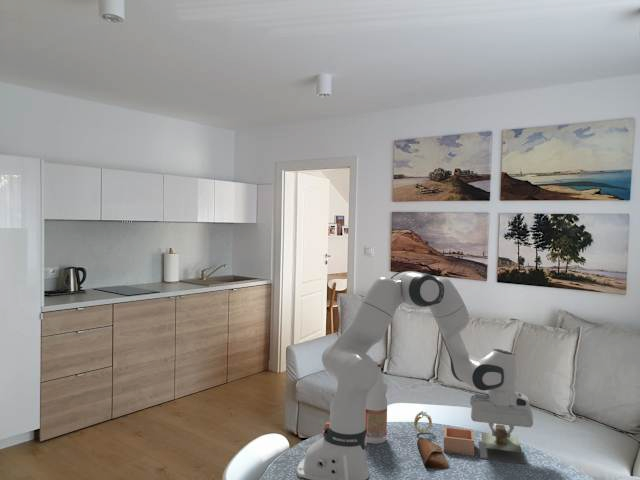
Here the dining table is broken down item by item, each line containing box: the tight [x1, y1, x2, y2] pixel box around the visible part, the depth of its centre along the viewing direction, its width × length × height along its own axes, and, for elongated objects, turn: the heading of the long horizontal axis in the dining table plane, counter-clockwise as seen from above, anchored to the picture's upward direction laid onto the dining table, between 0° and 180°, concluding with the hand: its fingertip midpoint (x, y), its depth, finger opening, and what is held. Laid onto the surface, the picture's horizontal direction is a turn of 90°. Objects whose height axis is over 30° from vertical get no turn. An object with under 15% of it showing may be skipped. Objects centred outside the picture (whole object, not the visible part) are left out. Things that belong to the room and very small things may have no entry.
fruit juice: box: [365, 360, 388, 445], centre depth 181 cm, size 9×9×28 cm
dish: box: [443, 426, 475, 456], centre depth 176 cm, size 10×10×5 cm
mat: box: [477, 441, 526, 465], centre depth 172 cm, size 14×14×1 cm
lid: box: [481, 424, 523, 453], centre depth 172 cm, size 12×12×5 cm
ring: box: [413, 411, 433, 434], centre depth 189 cm, size 7×3×8 cm, turn 101°
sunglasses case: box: [416, 437, 451, 470], centre depth 168 cm, size 18×7×7 cm
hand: (500, 436), depth 172 cm, fingers closed on lid, 3 cm apart
